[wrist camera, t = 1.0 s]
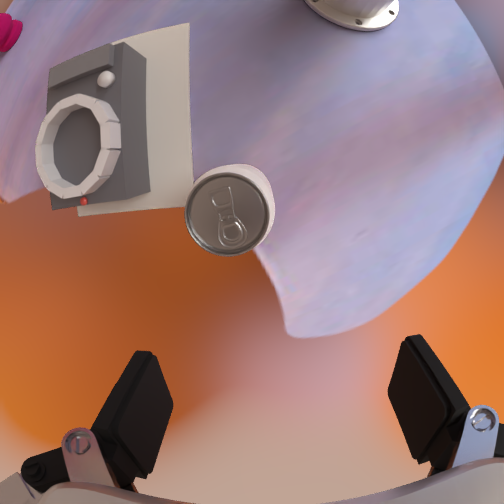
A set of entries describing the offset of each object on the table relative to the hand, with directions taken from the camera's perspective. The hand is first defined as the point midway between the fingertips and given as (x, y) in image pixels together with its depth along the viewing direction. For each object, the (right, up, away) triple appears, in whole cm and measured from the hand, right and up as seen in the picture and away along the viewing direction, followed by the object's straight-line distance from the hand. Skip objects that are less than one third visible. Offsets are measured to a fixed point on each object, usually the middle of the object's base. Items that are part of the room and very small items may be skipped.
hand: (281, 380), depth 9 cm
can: (-2, +11, +20) cm, 23 cm away
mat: (-16, +20, +17) cm, 31 cm away
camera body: (-18, +19, +17) cm, 31 cm away
